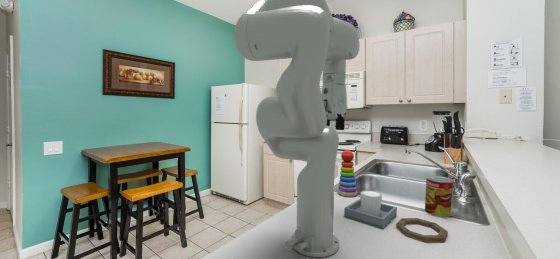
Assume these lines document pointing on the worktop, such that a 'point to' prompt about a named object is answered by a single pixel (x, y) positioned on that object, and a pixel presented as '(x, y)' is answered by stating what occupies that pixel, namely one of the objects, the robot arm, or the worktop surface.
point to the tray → (381, 221)
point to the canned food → (439, 196)
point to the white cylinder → (371, 202)
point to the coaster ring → (420, 237)
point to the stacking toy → (347, 175)
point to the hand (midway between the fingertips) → (332, 130)
